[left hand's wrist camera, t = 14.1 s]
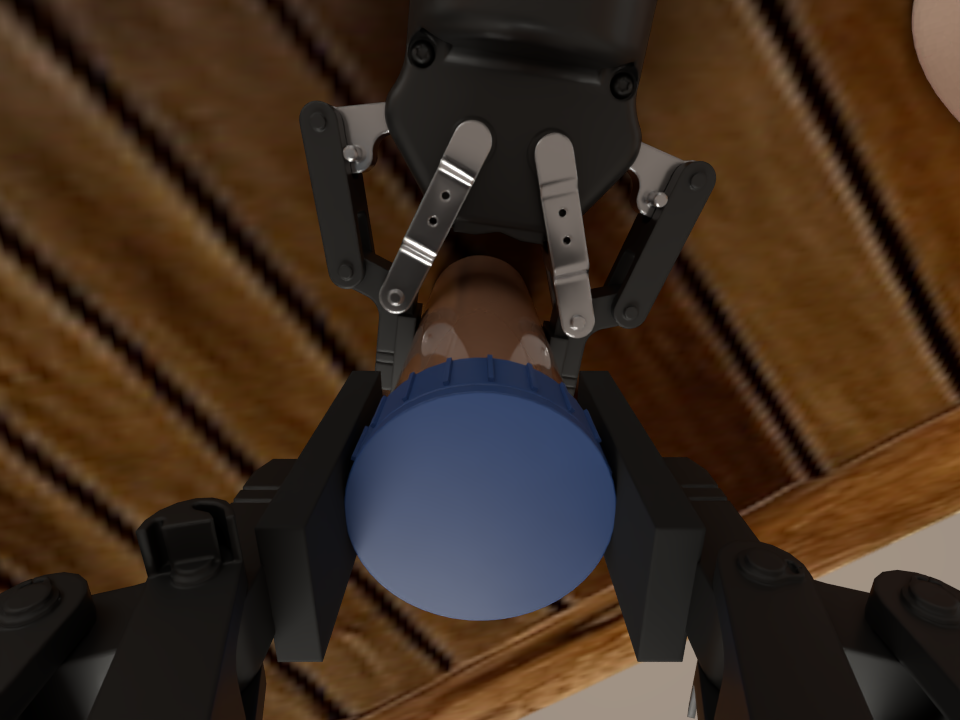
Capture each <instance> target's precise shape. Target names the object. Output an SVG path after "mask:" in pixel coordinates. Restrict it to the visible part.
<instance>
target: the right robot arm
mask: <svg viewBox="0 0 960 720" xmlns="http://www.w3.org/2000/svg"><path fill="white" fill-rule="evenodd" d="M656 3H657V0H410V6H409V18H408V30H407V42H406V53H405V59H404V64H403V67H402V70H401V72H400V75H399V77H398V79H397V81H396V82H395V84H394V85H393V87H392V88H391V90H390V92H389V94H388V96H387V99H386V102H382V103H372V104H363V105H353V106H344V107H334V106H331V105H329V104H327V103H324V102H321V101H312V102H309V103H307V104H306V105H305V106H304V107H303V109H302V110H301V113H300V118H299V121H300V127H301V133H302V138H303V143H304V148H305V153H306V158H307V164H308V169H309V174H310V179H311V184H312V189H313V195H314V200H315V205H316V210H317V215H318V220H319V226H320V231H321V236H322V241H323V246H324V251H325V257H326V262H327V267H328V272H329V276H330V278H331V280H332V282H333V283H334V284H335V285H337V286H338V287H340V288H344V289H351V288H352V289H354V290H356V291H358V292H360V293H362V294H364V295H366V296H367V297H369V298H370V299H372V300H373V301H374V303H375V304H376V306H377V308H378V311H379V327H378V340H377V353H376V365H375V371H381V383H382V389H385V390H391V391H390V394H391V393H392V392H393V390H394V387H395V385H396V382H397V379H398V377H399V374H400V372H401V369H402V367H403V364H404V361H405V359H406V356H407V354H408V351H409V349H410V346H411V343H412V341H413V338H414V336H415V333H416V330H417V328H418V325H419V323H420V320H421V314H422V303H417V300H418V291H419V289H420V287H421V285H422V283H423V281H424V279H425V277H426V275H427V273H428V271H429V269H430V267H431V265H432V263H433V261H434V260H435V258H436V256H437V254H438V252H439V250H440V248H441V246H442V244H443V242H444V240H445V238H446V236H447V234H448V232H449V230H450V228H453V231H454V232H461V233H468V234H474V235H476V234H484V233H492V232H501V233H503V234H506V235H508V236H510V237H512V238H515V239H517V240H519V241H523V242H530V243H537V244H540V246H541V251H542V257H543V261H544V265H545V269H546V274H547V279H548V285H549V291H550V297H551V302H552V308H553V309H552V314H551V319H550V322H549V321H544V323H543V330H544V332H545V335H546V338H547V340H548V343H549V345H550V348H551V350H552V353H553V356H554V358H555V361H556V363H557V366H558V368H559V371H560V373H561V376H562V379H563V381H564V384H565V385H566V388H567V390H568V392H569V393H570V394H571V395H572V396H574V392H575V387H576V382H577V378H578V373H579V369H580V364H581V360H582V355H583V351H584V346H585V343H586V341H587V339H588V338H589V336H590V335H591V334H593V333H594V332H596V331H598V330H600V329H604V328H609V327H614V326H619V325H620V326H621V327H623V328H628V329H631V328H635V327H637V326H639V325H641V324H642V323H643V322H644V320H645V319H646V317H647V315H648V313H649V311H650V309H651V307H652V305H653V303H654V301H655V300H656V298H657V296H658V294H659V292H660V290H661V288H662V286H663V284H664V282H665V280H666V278H667V276H668V274H669V273H670V271H671V269H672V267H673V265H674V263H675V261H676V259H677V257H678V255H679V253H680V251H681V249H682V248H683V246H684V244H685V242H686V240H687V238H688V236H689V234H690V232H691V230H692V228H693V226H694V224H695V222H696V221H697V219H698V217H699V215H700V213H701V211H702V209H703V207H704V205H705V203H706V201H707V199H708V197H709V196H710V194H711V192H712V190H713V188H714V185H715V182H716V174H715V171H714V169H713V167H712V166H711V165H710V164H708V163H706V162H703V161H693V160H688V161H683V160H681V159H679V158H676V157H674V156H672V155H670V154H667V153H665V152H663V151H661V150H658V149H656V148H654V147H652V146H649V145H647V144H645V143H643V142H641V141H642V136H641V129H640V126H639V122H638V118H637V112H636V95H637V89H638V85H639V80H640V76H641V72H642V67H643V63H644V58H645V53H646V49H647V44H648V40H649V35H650V31H651V26H652V21H653V17H654V12H655V8H656ZM390 134H391V136H392V138H393V140H394V142H395V144H396V145H397V147H398V149H399V151H400V153H401V155H402V156H403V158H404V160H405V162H406V164H407V166H408V168H409V169H410V171H411V173H412V175H413V177H414V179H415V180H416V182H417V184H418V186H419V188H420V190H421V192H422V193H423V195H424V198H423V200H422V202H421V204H420V206H419V208H418V210H417V212H416V214H415V216H414V218H413V220H412V222H411V224H410V227H409V229H408V231H407V233H406V235H405V237H404V239H403V242H402V244H401V247H400V249H399V252H398V254H397V256H396V258H395V260H394V262H393V263H392V262H390V261H388V260H386V259H384V258H382V257H380V256H378V255H376V254H375V250H374V244H373V237H372V231H371V225H370V219H369V213H368V206H367V200H366V194H365V188H364V182H363V175H362V173H364V172H368V171H370V170H371V169H372V168H373V167H374V166H375V164H376V162H377V150H378V146H379V143H380V142H381V140H382V139H383V138H384V137H386V136H387V135H390ZM626 172H628V173H629V175H630V176H631V179H632V183H633V187H632V191H631V194H630V204H631V207H632V208H633V210H634V211H635V212H637V213H638V215H637V217H636V219H635V221H634V223H633V225H632V227H631V230H630V232H629V234H628V236H627V238H626V240H625V242H624V244H623V246H622V248H621V250H620V252H619V255H618V257H617V259H616V261H615V263H614V265H613V267H612V269H611V271H610V273H609V275H608V277H607V280H606V282H605V284H604V286H603V287H599V288H594V289H590V284H589V277H588V271H589V261H588V254H587V247H586V240H585V234H584V227H583V220H582V216H583V215H584V214H585V213H586V212H587V211H588V210H589V209H590V208H591V207H592V206H593V205H594V204H595V203H596V202H597V201H598V200H599V199H600V198H601V197H602V196H603V195H604V194H605V193H606V192H607V191H608V190H609V189H610V188H611V187H612V186H613V185H614V184H615V183H616V182H617V181H618V180H619V179H620V178H621V177H622V176H623V175H624V174H625V173H626Z"/></svg>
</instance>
